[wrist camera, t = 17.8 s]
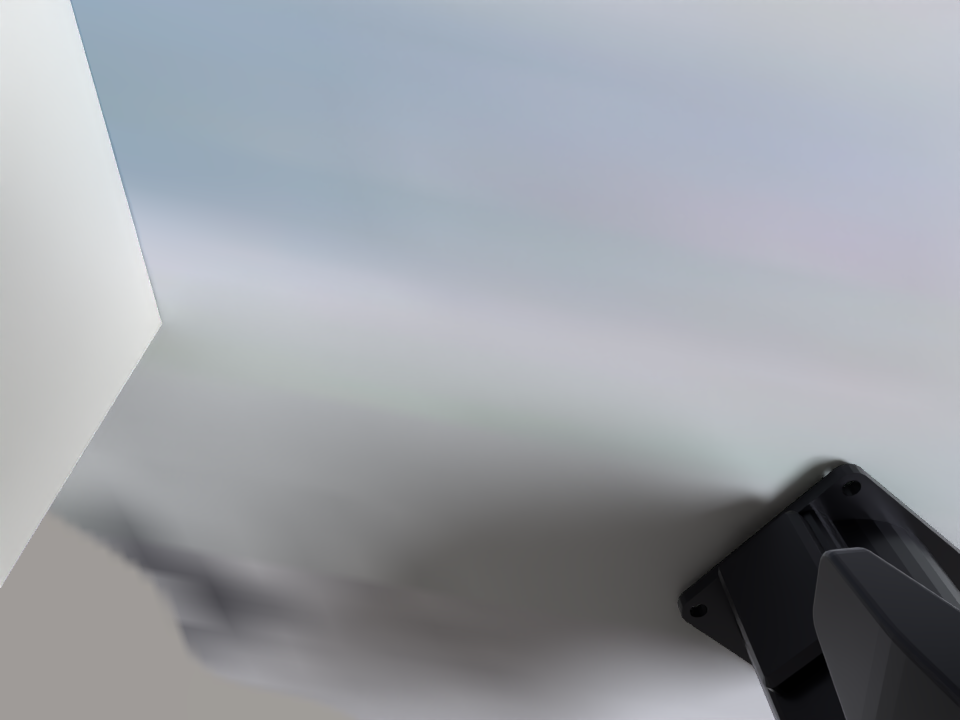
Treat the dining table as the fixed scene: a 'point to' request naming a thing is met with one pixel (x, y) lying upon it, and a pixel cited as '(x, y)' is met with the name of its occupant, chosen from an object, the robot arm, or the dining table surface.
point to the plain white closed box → (58, 266)
